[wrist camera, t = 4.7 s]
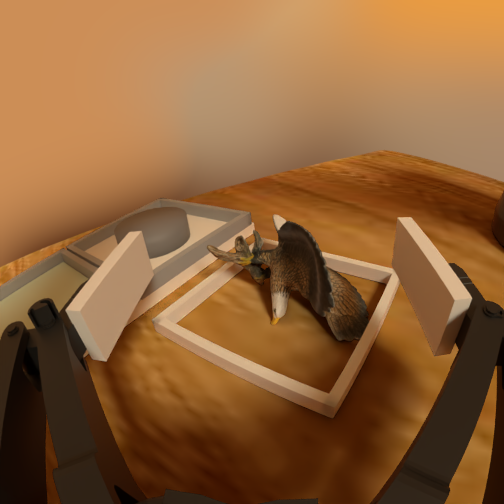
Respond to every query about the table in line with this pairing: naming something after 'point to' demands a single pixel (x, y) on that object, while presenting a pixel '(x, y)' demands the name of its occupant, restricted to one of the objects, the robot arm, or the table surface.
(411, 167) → the table surface
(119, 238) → the tray
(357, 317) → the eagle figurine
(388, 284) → the white square frame
